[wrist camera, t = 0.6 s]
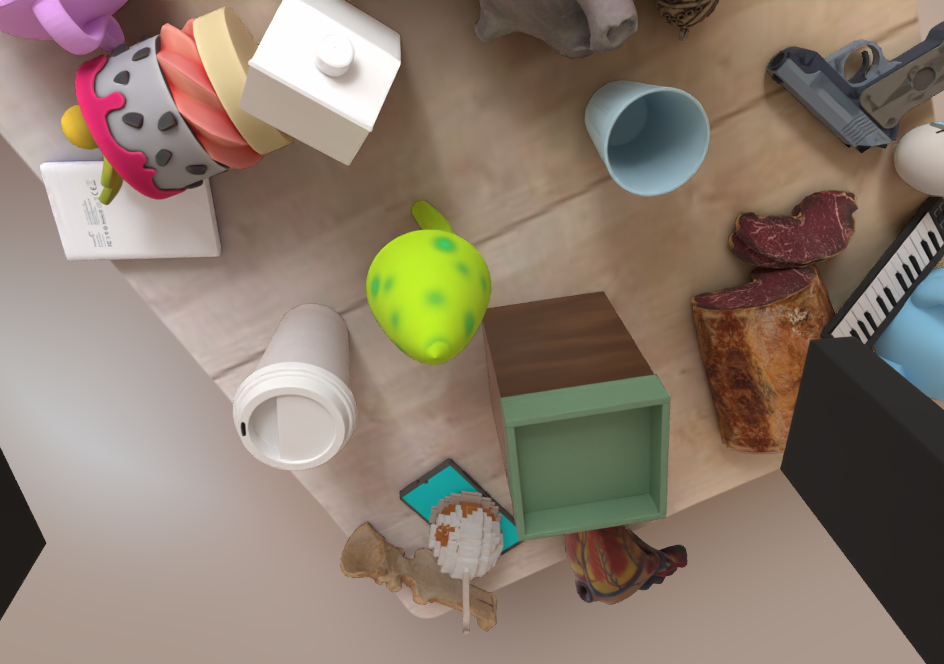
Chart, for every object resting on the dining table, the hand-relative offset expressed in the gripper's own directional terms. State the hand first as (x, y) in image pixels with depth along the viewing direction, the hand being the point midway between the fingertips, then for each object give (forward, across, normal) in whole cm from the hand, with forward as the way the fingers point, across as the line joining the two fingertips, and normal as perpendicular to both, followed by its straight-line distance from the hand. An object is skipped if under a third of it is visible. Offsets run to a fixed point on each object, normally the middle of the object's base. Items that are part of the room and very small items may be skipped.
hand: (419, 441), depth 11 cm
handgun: (+47, +43, +3) cm, 64 cm away
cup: (+49, +18, -5) cm, 52 cm away
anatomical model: (+42, +16, -52) cm, 69 cm away
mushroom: (+49, +1, -12) cm, 50 cm away
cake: (+43, -10, 0) cm, 44 cm away
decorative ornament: (+48, +3, -48) cm, 68 cm away
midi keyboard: (+44, +42, -19) cm, 64 cm away
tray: (+34, +12, -28) cm, 45 cm away
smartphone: (+49, +3, -48) cm, 69 cm away
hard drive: (+48, -17, -11) cm, 52 cm away
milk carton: (+49, -5, +1) cm, 49 cm away
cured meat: (+48, +35, -26) cm, 65 cm away
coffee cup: (+49, -10, -24) cm, 55 cm away
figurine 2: (+42, +46, -10) cm, 62 cm away
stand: (+48, +12, -28) cm, 57 cm away
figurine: (+45, +5, -62) cm, 76 cm away
